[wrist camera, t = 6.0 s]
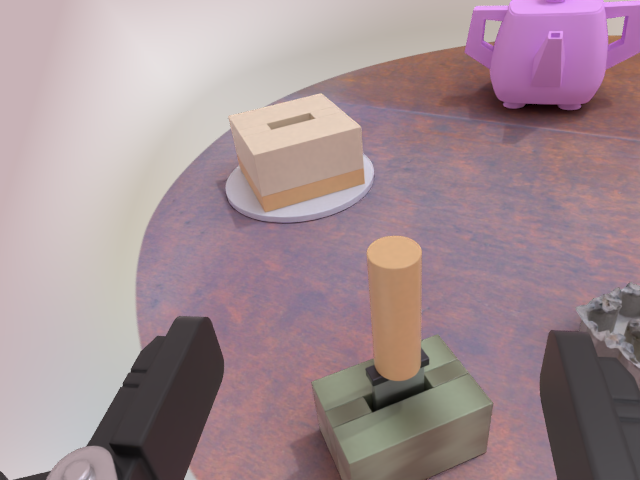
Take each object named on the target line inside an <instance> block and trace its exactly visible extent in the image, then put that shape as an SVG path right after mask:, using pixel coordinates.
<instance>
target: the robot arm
mask: <svg viewBox="0 0 640 480" xmlns="http://www.w3.org/2000/svg"><path fill="white" fill-rule="evenodd" d="M223 373H224V359H223V355H222V352H221V349H220V346H219V343H218V340H217V337H216V334H215V331H214V328H213V325H212V322H211V320H210V319H209V318H208V317H191V316H179V317H177V318H176V319H175V320H174V322H173V324H172V326H171V327H170V329H169V331H168V333H167V335H166V336H157V337H156V338H155V339H154V340H153V341H152V342H150V343H149V344H148V345H147V346H146V347H145V348H144V349H143V350H142V351H141V352H140V354H139V356H138V358H137V359H136V361H135V363H134V365H133V366H132V368H131V372H130V373H128V375H127V377H126V378H125V380H124V382H123V386H122V387H120V389H119V391H118V393H117V394H116V396H115V398H114V400H113V402H112V403H111V405H110V407H109V408H108V410H107V412H106V414H105V415H104V417H103V419H102V421H101V422H100V424H99V426H98V428H97V429H96V431H95V433H94V435H93V436H92V438H91V440H90V441H89V443H88V445H87V446H86V447H83V448H80V449H77V450H75V451H73V452H71V453H70V454H68V455H66V456H65V457H64V458H63V459H61V460H60V461H59V462H58V463H57V464H56V465H55V466H54V468H53V469H52V470H51V471H49V472H45V473H40V474H36V475H32V476H28V477H23V478H19V479H15V480H184V478H185V475H186V473H187V470H188V468H189V465H190V462H191V460H192V457H193V455H194V452H195V449H196V447H197V444H198V442H199V439H200V436H201V434H202V431H203V429H204V426H205V423H206V421H207V418H208V416H209V413H210V410H211V408H212V405H213V403H214V400H215V397H216V395H217V392H218V390H219V387H220V384H221V382H222V378H223ZM540 397H541V404H542V408H543V413H544V418H545V423H546V427H547V432H548V437H549V442H550V446H551V451H552V456H553V461H554V465H555V470H556V475H557V480H640V390H639V387H638V385H637V382H636V380H635V378H634V376H633V375H632V374H631V373H630V372H629V371H628V370H627V369H626V368H625V367H624V366H623V365H622V363H621V362H620V361H619V360H618V359H617V358H616V357H598V355H597V353H596V350H595V347H594V344H593V341H592V338H591V336H590V334H589V333H588V332H583V331H555V330H551V331H550V332H549V335H548V340H547V345H546V349H545V354H544V359H543V364H542V369H541V374H540ZM0 480H8V479H7V478H6V476H5V475H4V474H3V473H2V472H1V471H0Z"/></svg>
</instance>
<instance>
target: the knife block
mask: <svg viewBox="0 0 640 480" xmlns="http://www.w3.org/2000/svg"><path fill="white" fill-rule="evenodd" d="M421 348H422V349H423V350H424V352H425V353H426V354H427V356H428V357H429V365H428V366H425V367H424V392H422V393H420V394H417V395H415V396H412V397H410V398H407V399H405V400H402V401H400V402H397V403H395V404H392V405H390V406H387V407H385V408H382V409H380V410H377V411H375V412H373V400H372V388H371V383H370V381H369V379H368V377H367V376H366V370H365V368H367V367H369V366H372V365H375V364H374V359H371V360H368V361H366V362H363V363H360V364H358V365H355V366H352V367H350V368H347V369H344V370H342V371H339V372H336V373H334V374H331V375H328V376H326V377H323V378H321V379H318V380H315V381H313V382H311V384H312V389H313V395H314V400H315V406H316V411H317V416H318V422H319V427H320V431H321V433H322V435H323V438H324V440H325V442H326V444H327V447H328V449H329V451H330V454H331V456H332V458H333V461H334V463H335V465H336V467H337V470H338V472H339V474H340V477H341V479H342V480H425V479H427V478H429V477H432V476H434V475H436V474H438V473H441V472H443V471H445V470H447V469H450V468H452V467H454V466H456V465H458V464H461V463H463V462H465V461H467V460H470V459H472V458H474V457H476V456H479V455H481V454H483V453H485V452H486V450H487V443H488V436H489V429H490V422H491V415H492V408H493V402H492V401H491V400H490V399H489V397H488V396H487V395H486V394H485V392H484V391H483V390H482V389H481V387H480V386H479V385H478V384H477V382H476V381H475V380H474V379H473V377H472V376H471V375H470V374H469V372H468V371H467V370H466V369H465V367H464V366H463V365H462V364H461V362H460V361H459V360H458V359H457V357H456V356H455V355H454V354H453V352H452V351H451V350H450V349H449V347H448V346H447V345H446V344H445V342H444V341H443V340H442V339H441V337H440V336H439V335H438V334H437V335H434V336H432V337H429V338H427V339H424V340H421Z"/></svg>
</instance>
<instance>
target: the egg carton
mask: <svg viewBox="0 0 640 480" xmlns="http://www.w3.org/2000/svg"><path fill="white" fill-rule="evenodd" d="M576 310H577V312H578V314H579V315H580V317H581V319H582V321H581V324H580V329H579V331H583V332H588V333H589V334H590V336H591V338H592V341H593V344H594V347H595V350H596V353H597V355H598V357H616V358H617V359H618V360H619V361H620V362H621V363H622V365H623V366H624V367H625V368H626V369H627V370H628V371H629V372H630V373H631V374H632V375H633V376H634V378H635V380H636V382H637V385H638V387H639V390H640V286H638V285H637V284H633V283H632V282H630V283H629V284H627V286H626V287H625V288H623V289H620V288H619V287H618V288H615V289H614V290H613V291H612V292H611V293H609V294H603V295H602V296H601V297H598V298H593V299H592V300H591V301H590V302H589V303H588V304H587V305H581V306H578V307H576Z"/></svg>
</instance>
